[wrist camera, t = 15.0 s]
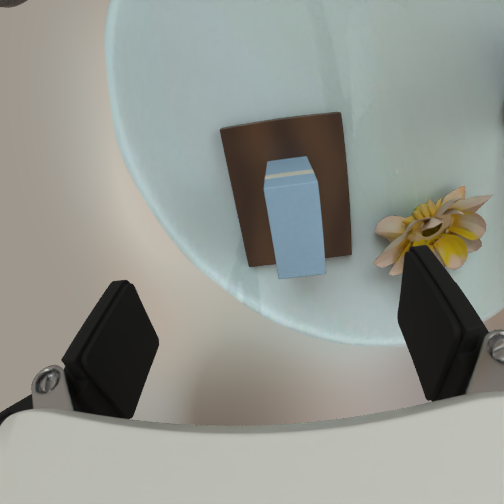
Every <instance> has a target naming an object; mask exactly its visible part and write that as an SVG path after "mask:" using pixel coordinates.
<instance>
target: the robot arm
mask: <svg viewBox="0 0 504 504" xmlns="http://www.w3.org/2000/svg"><path fill="white" fill-rule="evenodd" d="M398 323H399V326H400V329H401V331H402V334H403V336H404V339H405V341H406V344H407V347H408V349H409V352H410V354H411V357H412V360H413V363H414V365H415V368H416V371H417V374H418V376H419V380H420V382H421V385H422V388H423V391H424V394H425V397H426V399H427V400H431V401H432V402H429V403H425V404H421V405H416V406H412V407H407V408H402V409H397V410H392V411H387V412H381V413H375V414H369V415H363V416H357V417H350V418H343V419H336V420H328V421H318V422H307V423H297V424H296V423H295V424H282V425H281V424H280V425H258V426H208V425H185V424H169V423H158V422H147V421H138V420H130V418H132V417H133V415H134V412H135V410H136V407H137V404H138V401H139V398H140V395H141V392H142V390H143V387H144V384H145V382H146V379H147V376H148V373H149V371H150V368H151V365H152V363H153V360H154V357H155V355H156V352H157V349H158V346H159V339H158V336H157V334H156V332H155V330H154V328H153V326H152V324H151V322H150V320H149V317H148V315H147V313H146V311H145V309H144V307H143V305H142V302H141V300H140V298H139V296H138V293H137V291H136V289H135V287H134V285H133V284H130V282H129V281H127V280H121V281H113V282H112V283H111V284H110V285H109V286H108V288H107V289H106V291H105V292H104V294H103V295H102V297H101V298H100V300H99V301H98V303H97V304H96V306H95V307H94V309H93V310H92V312H91V313H90V315H89V316H88V318H87V319H86V321H85V323H84V324H83V326H82V327H81V329H80V331H79V332H78V334H77V335H76V337H75V338H74V340H73V342H72V343H71V345H70V346H69V348H68V350H67V351H66V353H65V355H64V356H63V358H62V362H63V363H64V365H65V368H64V370H63V369H62V368H61V367H60V366H57V365H52V366H48V367H46V368H44V369H43V370H41V371H40V372H39V373H38V374H37V375H36V376H35V378H34V380H33V382H32V388H31V390H32V394H31V395H29V396H27V397H26V398H24V399H22V400H21V401H19V402H17V403H15V404H14V405H12V406H10V407H9V408H7V409H5V410H4V411H2V412H1V413H0V504H504V330H494V331H491V332H488V330H487V328H486V327H485V325H484V324H483V322H482V320H481V319H480V317H479V316H478V314H477V313H476V311H475V310H474V308H473V307H472V305H471V304H470V302H469V301H468V299H467V298H466V296H465V295H464V293H463V292H462V290H461V289H460V287H459V286H458V285H457V283H456V282H455V281H454V280H453V279H452V277H451V276H450V275H449V273H448V272H447V270H446V269H445V268H444V266H443V265H442V264H441V262H440V261H439V260H438V258H437V257H436V256H435V254H434V253H433V252H432V251H431V249H430V248H429V247H428V246H427V245H421V246H413V247H410V249H409V252H405V255H404V265H403V275H402V284H401V293H400V301H399V308H398Z"/></svg>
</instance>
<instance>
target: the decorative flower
mask: <svg viewBox="0 0 504 504" xmlns="http://www.w3.org/2000/svg"><path fill="white" fill-rule="evenodd" d="M491 196H492V195H486V196H476V197H471V198H467V199H465V187H464V185H463V186H461V187H459V188H457V189H456V190H454V191H452V192H451V193H449V194H447V195H446V196H445V198H444V200H443V202H442V204H441V198H440V199H439V200H438V201H437V203H436V205H435V204H434V202H432V201H431V200H430V199H428V202H427V203H425V204H420V205H419V206H418V207H416V209H415V210H414V212H413V213H412V216H409V217H407V218H404V217H400V216H392V215H391V216H388V217H386V218H383V219H382V220H381V221H380V222H378V225H377V227H376V229H375V233H377V234H378V235H380V236H382V237H384V238H386V239H388V241H389V242H391V243H390V244H389V245H388V246H387V247H386V248H385V249H384V250H383V251H382V253H381V254H380V255H379V256H378V257H377V258H376V259H375V260H374V262H373V263H374V264H375V265H376V266H378V267H380V268H381V267H387V266H389V265H391V264H392V263H394V264H393V266H392V268H391V270H390V272H389V274H390V275H398V274H401V273H402V272H403V265H404V255H405V252H409V249H410V247H413V246H421V245H427V246H428V247H429V248H430V249H431V251H432V252H433V253H434V254H435V256H436V257H437V258H438V260H439V261H440V262H441V264H442V265H443V266H444V267H445V265H446V266H447V267H448V268H450V269H453V270H456V269H457V268H459V267H461V266H462V265H463V264H464V262H465V261H466V259H467V254H468V253H470V252H474V251H477V250H478V249H479V248H480V247H481V246H482V242H481V240H480V238H481V237H482V236H483V234H484V233H485V231H486V223H485V220H484V219H483V218H482V217H481V216H480V215H478V214H476V213H475V212H476V211H477V210H478V209H479V208H480V207H481V206H482V205H483V204H484V203H485V202H486V201H487V200H488V199H489V198H490V197H491Z"/></svg>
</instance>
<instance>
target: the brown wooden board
mask: <svg viewBox="0 0 504 504" xmlns="http://www.w3.org/2000/svg"><path fill="white" fill-rule="evenodd" d="M220 133H221V138H222V143H223V148H224V152H225V157H226V162H227V166H228V171H229V176H230V181H231V185H232V190H233V195H234V199H235V204H236V209H237V213H238V218H239V223H240V227H241V232H242V237H243V241H244V246H245V250H246V255H247V260H248V264H249V267H254V266H263V265H272V264H276V259H275V253H274V247H273V241H272V235H271V229H270V223H269V217H268V212H267V206H266V200H265V194H264V182H265V175H266V167H267V162H268V161H274V160H281V159H288V158H296V157H304V156H307V158H308V160H309V163H310V165H311V167H312V169H313V171H314V173H315V176H316V179H317V181H318V187H319V196H320V206H321V216H322V227H323V239H324V252H325V258H330V257H338V256H346V255H351V254H352V247H351V221H350V203H349V188H348V175H347V164H346V153H345V143H344V134H343V126H342V118H341V113H340V112H331V113H321V114H311V115H302V116H294V117H286V118H279V119H272V120H265V121H259V122H253V123H247V124H241V125H235V126H230V127H225V128H221V129H220Z"/></svg>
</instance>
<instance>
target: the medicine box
mask: <svg viewBox="0 0 504 504" xmlns="http://www.w3.org/2000/svg"><path fill="white" fill-rule="evenodd" d="M264 194H265V200H266V206H267V212H268V217H269V223H270V229H271V235H272V241H273V247H274V253H275V259H276V265H277V271H278V277H279V279H285V278H294V277H303V276H311V275H319V274H326V266H325V252H324V239H323V227H322V216H321V206H320V196H319V187H318V181H317V179H316V176H315V173H314V171H313V169H312V167H311V165H310V163H309V160H308V158H307V156H304V157H296V158H288V159H281V160H274V161H268V162H267V167H266V175H265V182H264Z"/></svg>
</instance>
